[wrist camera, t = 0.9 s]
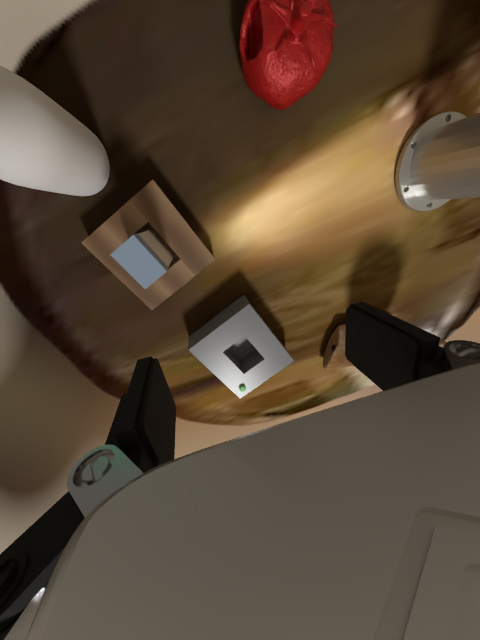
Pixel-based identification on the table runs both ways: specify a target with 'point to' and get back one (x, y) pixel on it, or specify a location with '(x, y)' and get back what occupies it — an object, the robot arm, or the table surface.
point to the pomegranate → (285, 48)
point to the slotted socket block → (171, 229)
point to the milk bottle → (46, 143)
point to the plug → (144, 257)
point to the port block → (239, 348)
